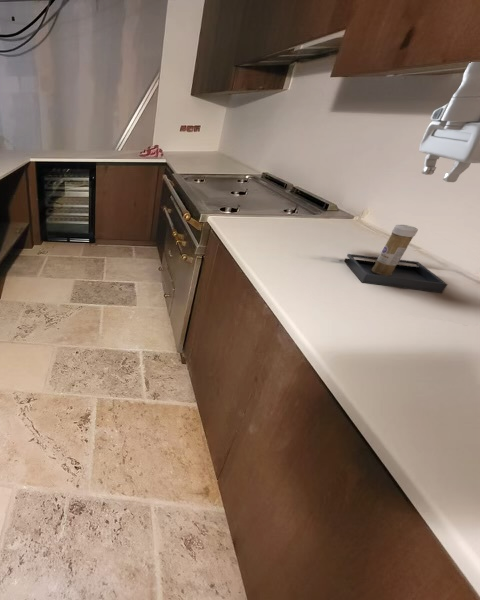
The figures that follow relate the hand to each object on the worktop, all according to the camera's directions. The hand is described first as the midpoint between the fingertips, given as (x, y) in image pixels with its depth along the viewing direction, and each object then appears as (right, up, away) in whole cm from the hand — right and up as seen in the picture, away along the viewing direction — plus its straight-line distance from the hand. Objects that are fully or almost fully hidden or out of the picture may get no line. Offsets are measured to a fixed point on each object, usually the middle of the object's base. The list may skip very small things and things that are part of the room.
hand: (437, 177), depth 78 cm
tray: (-1, -23, +12) cm, 26 cm away
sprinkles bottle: (-3, -23, +12) cm, 26 cm away
